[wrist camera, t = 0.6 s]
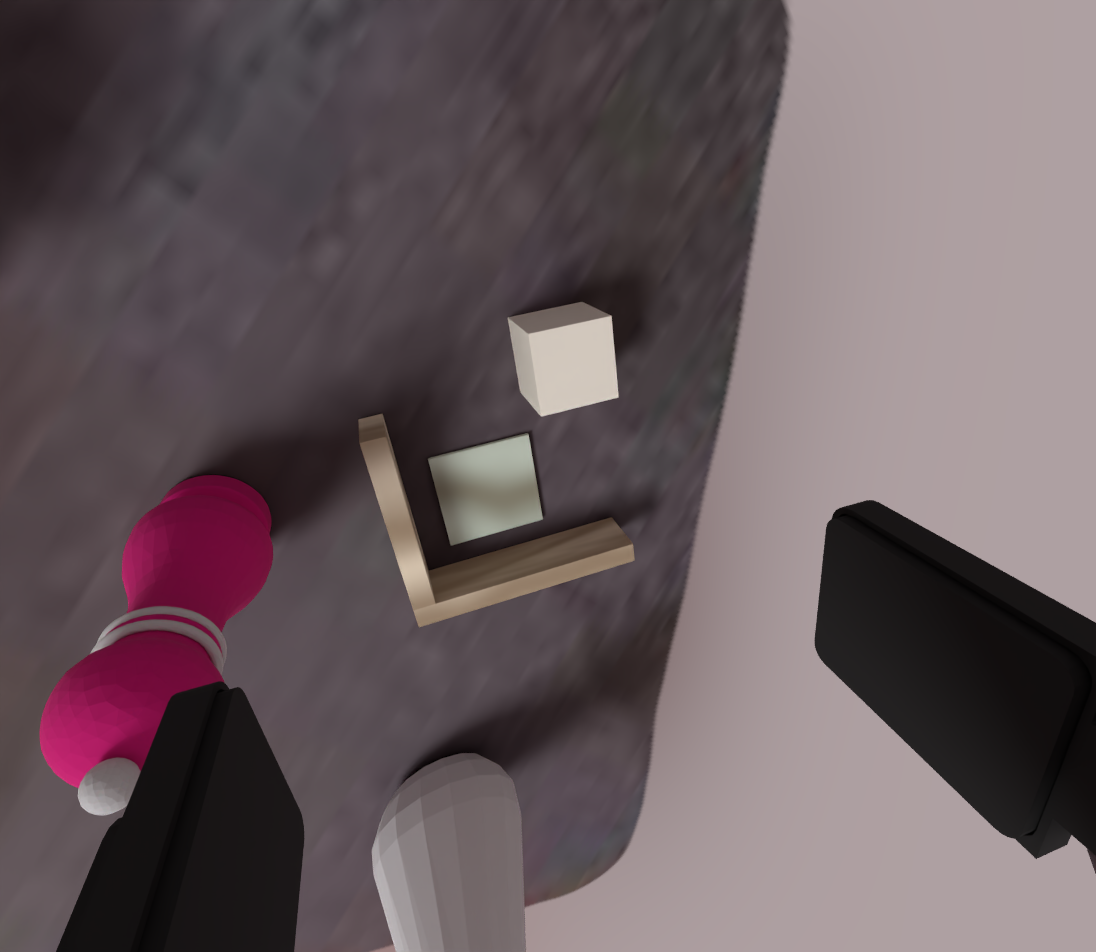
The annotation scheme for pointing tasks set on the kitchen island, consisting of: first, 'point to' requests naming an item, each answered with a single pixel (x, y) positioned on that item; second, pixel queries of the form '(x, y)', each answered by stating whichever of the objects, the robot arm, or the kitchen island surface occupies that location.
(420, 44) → the kitchen island surface
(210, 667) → the pepper mill
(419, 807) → the soap bottle
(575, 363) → the cube
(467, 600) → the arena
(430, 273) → the kitchen island surface
